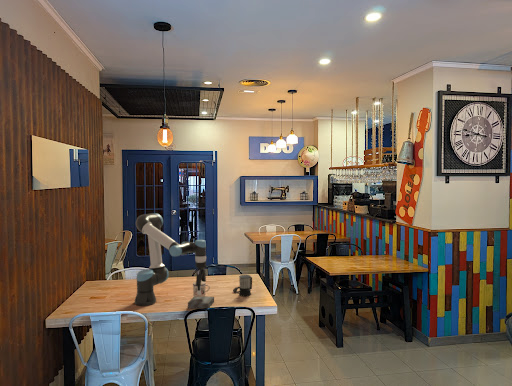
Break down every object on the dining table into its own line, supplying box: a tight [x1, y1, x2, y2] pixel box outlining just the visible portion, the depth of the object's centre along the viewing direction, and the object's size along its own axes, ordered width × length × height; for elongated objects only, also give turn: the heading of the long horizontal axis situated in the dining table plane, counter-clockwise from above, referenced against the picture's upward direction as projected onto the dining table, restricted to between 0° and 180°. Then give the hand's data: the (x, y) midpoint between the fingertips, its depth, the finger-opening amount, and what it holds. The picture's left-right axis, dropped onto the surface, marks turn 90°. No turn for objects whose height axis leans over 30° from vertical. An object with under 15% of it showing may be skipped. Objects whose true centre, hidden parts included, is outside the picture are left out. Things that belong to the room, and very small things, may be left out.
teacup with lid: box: [192, 280, 211, 297], centre depth 268 cm, size 12×9×12 cm
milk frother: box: [232, 274, 253, 297], centre depth 294 cm, size 14×16×15 cm
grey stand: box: [187, 295, 215, 310], centre depth 268 cm, size 15×15×4 cm
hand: (201, 292), depth 267 cm, fingers closed on teacup with lid, 9 cm apart
